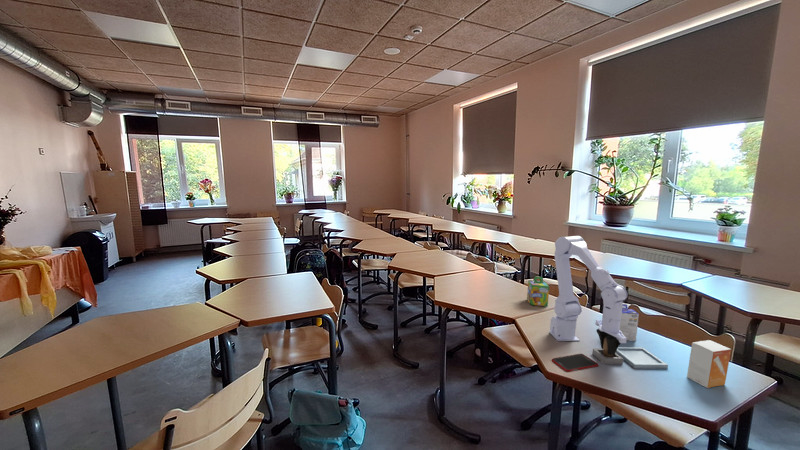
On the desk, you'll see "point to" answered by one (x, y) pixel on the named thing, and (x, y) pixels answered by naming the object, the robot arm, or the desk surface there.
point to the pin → (606, 349)
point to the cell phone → (574, 362)
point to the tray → (640, 358)
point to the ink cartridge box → (629, 323)
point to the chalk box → (538, 292)
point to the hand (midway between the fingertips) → (607, 351)
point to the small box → (708, 363)
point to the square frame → (607, 360)
